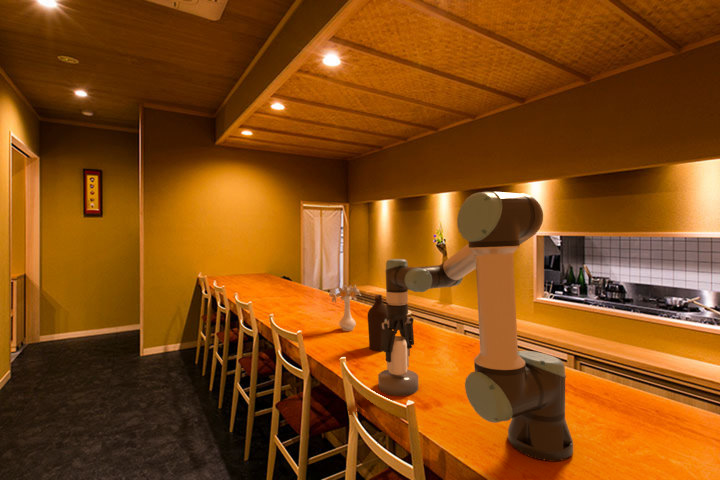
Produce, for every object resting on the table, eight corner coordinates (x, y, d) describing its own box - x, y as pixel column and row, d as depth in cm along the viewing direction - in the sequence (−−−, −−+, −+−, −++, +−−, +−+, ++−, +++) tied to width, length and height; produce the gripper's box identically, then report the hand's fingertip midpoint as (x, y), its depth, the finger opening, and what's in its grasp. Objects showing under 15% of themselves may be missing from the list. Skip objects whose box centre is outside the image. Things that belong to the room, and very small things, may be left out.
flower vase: (326, 330, 206) (325, 285, 205) (352, 324, 218) (351, 282, 217) (341, 335, 196) (340, 288, 195) (367, 329, 208) (366, 284, 208)
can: (392, 376, 128) (392, 341, 128) (386, 369, 134) (385, 336, 134) (410, 374, 130) (409, 340, 129) (403, 367, 136) (402, 335, 136)
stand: (418, 397, 124) (418, 385, 124) (376, 394, 126) (376, 383, 126) (418, 380, 138) (418, 369, 138) (380, 378, 140) (380, 367, 140)
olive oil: (364, 350, 173) (363, 296, 172) (372, 343, 182) (372, 292, 182) (386, 352, 169) (385, 297, 168) (393, 345, 178) (392, 293, 177)
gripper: (409, 298, 140) (410, 359, 141) (368, 305, 129) (369, 371, 129) (424, 301, 134) (425, 364, 135) (382, 308, 122) (383, 378, 123)
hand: (398, 368), depth 132 cm, fingers closed on can, 6 cm apart
